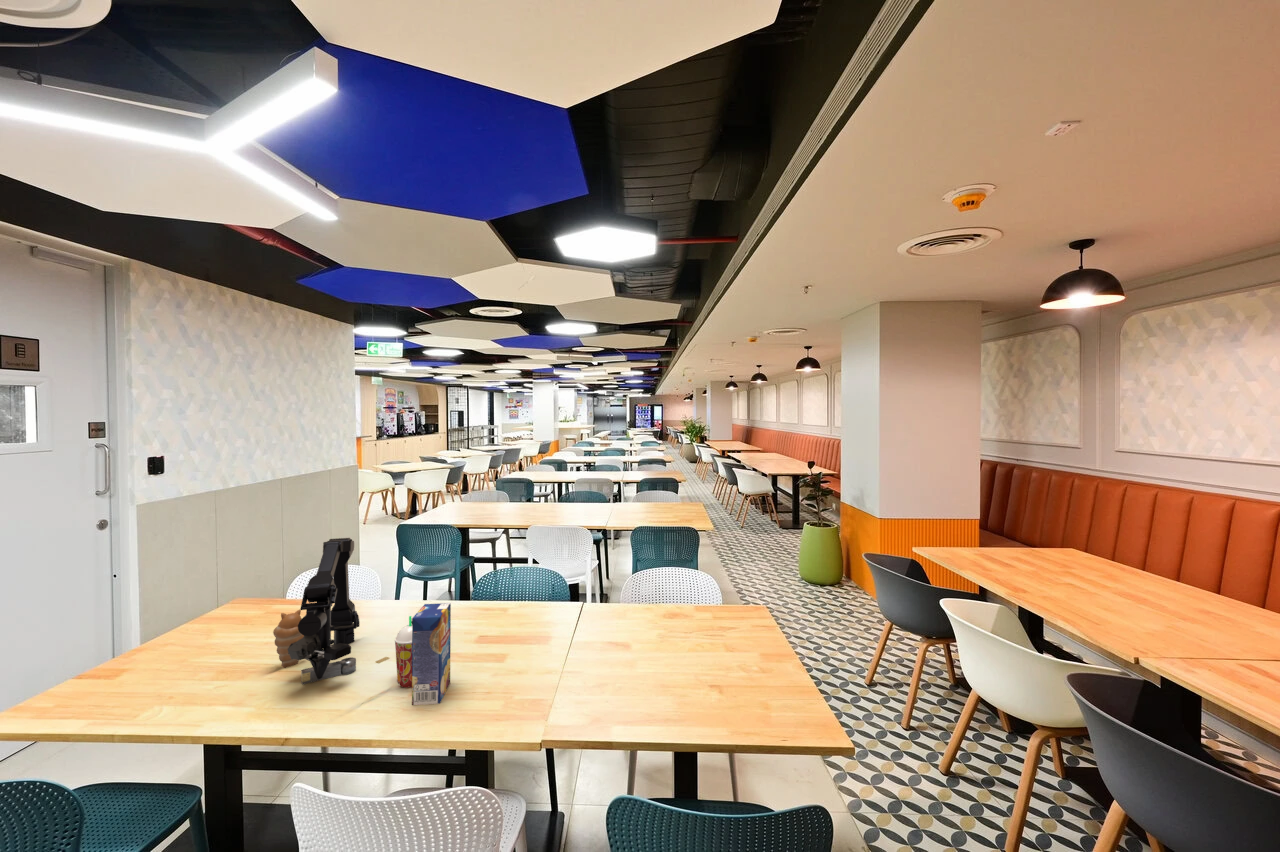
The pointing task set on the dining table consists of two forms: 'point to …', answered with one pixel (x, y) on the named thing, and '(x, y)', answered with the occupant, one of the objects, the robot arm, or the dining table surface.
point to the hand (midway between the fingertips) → (319, 678)
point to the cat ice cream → (287, 636)
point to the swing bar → (330, 670)
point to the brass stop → (382, 660)
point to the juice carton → (431, 653)
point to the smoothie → (404, 655)
